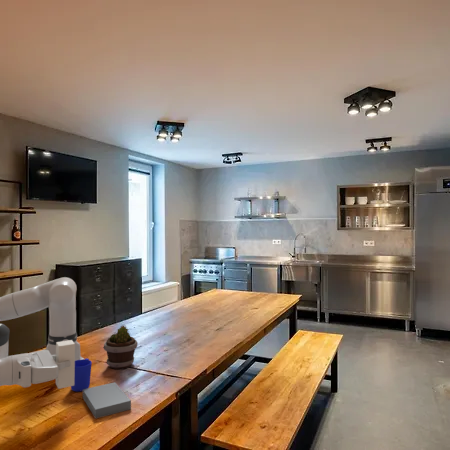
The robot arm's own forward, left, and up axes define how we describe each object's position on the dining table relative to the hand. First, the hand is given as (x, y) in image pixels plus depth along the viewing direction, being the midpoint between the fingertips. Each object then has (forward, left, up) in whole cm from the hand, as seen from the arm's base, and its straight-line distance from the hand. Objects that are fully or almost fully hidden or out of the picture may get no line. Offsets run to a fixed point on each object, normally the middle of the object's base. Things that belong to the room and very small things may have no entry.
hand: (68, 360), depth 127 cm
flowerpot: (-33, +29, -18) cm, 48 cm away
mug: (-19, +9, -18) cm, 28 cm away
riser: (0, +13, -18) cm, 22 cm away
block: (0, -1, -8) cm, 8 cm away
